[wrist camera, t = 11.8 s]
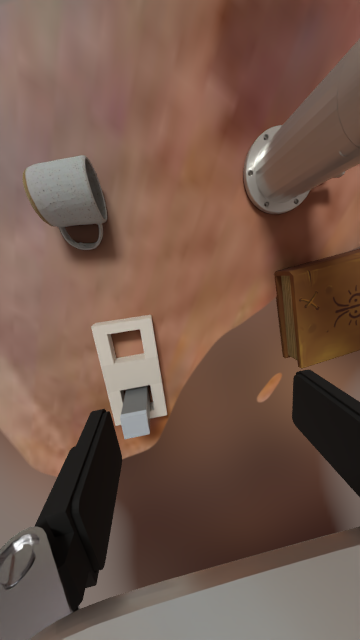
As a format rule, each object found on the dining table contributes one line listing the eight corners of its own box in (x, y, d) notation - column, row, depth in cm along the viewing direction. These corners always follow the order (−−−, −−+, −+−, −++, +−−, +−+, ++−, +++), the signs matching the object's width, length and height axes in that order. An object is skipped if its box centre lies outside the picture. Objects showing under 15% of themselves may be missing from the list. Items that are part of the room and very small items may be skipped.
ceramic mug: (42, 180, 29) (4, 150, 21) (97, 172, 29) (80, 140, 22) (66, 254, 32) (41, 250, 24) (116, 245, 32) (106, 239, 25)
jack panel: (151, 314, 36) (151, 317, 33) (166, 406, 41) (167, 415, 38) (95, 323, 35) (91, 326, 32) (117, 416, 40) (115, 425, 37)
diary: (375, 243, 40) (412, 238, 34) (373, 327, 45) (405, 335, 39) (272, 271, 38) (293, 271, 32) (282, 356, 43) (302, 369, 37)
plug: (147, 381, 39) (146, 413, 30) (150, 399, 40) (149, 434, 31) (127, 385, 38) (120, 418, 30) (130, 402, 39) (124, 439, 31)
